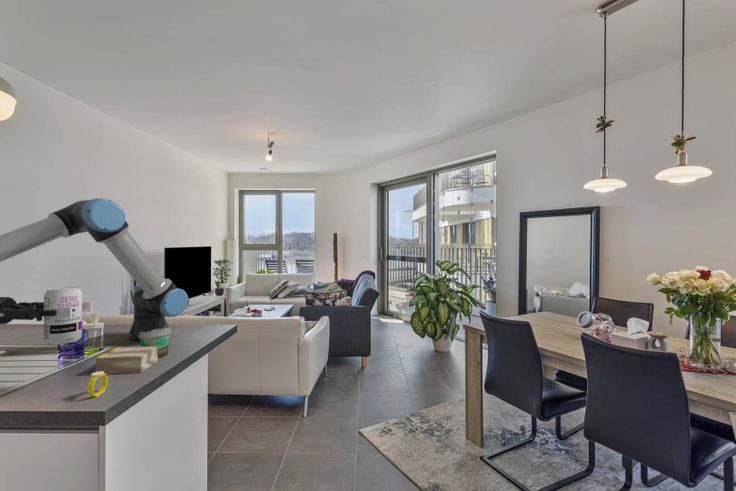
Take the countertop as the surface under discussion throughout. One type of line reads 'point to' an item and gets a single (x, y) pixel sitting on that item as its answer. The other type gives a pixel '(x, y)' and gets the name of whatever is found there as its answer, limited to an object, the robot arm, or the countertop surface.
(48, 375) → the countertop surface
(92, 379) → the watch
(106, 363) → the loading dock
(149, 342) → the food container
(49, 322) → the supplement can
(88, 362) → the countertop surface
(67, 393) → the countertop surface
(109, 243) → the robot arm
